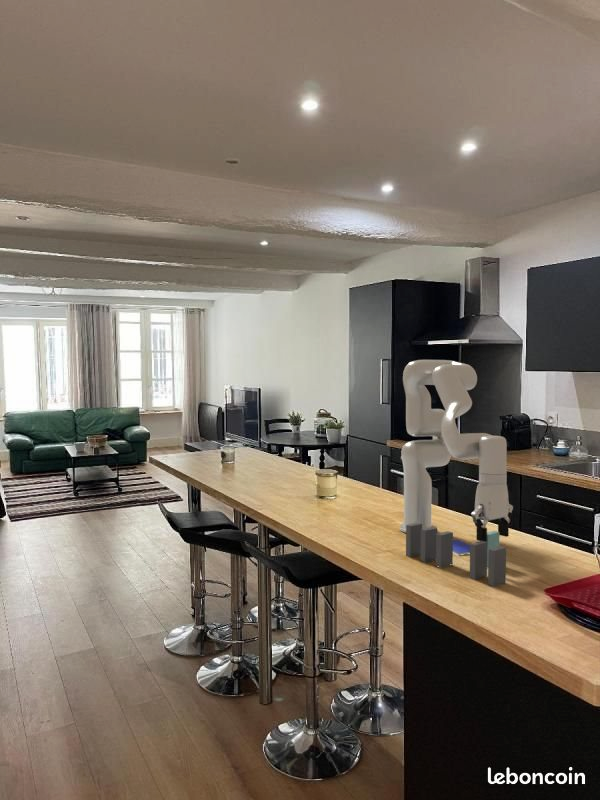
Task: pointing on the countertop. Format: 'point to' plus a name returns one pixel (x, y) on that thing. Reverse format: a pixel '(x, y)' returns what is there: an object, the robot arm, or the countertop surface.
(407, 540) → the tile
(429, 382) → the robot arm
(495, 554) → the tile
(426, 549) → the tile
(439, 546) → the tile
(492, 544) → the tile
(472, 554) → the tile
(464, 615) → the countertop surface
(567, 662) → the countertop surface
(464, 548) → the hard drive
